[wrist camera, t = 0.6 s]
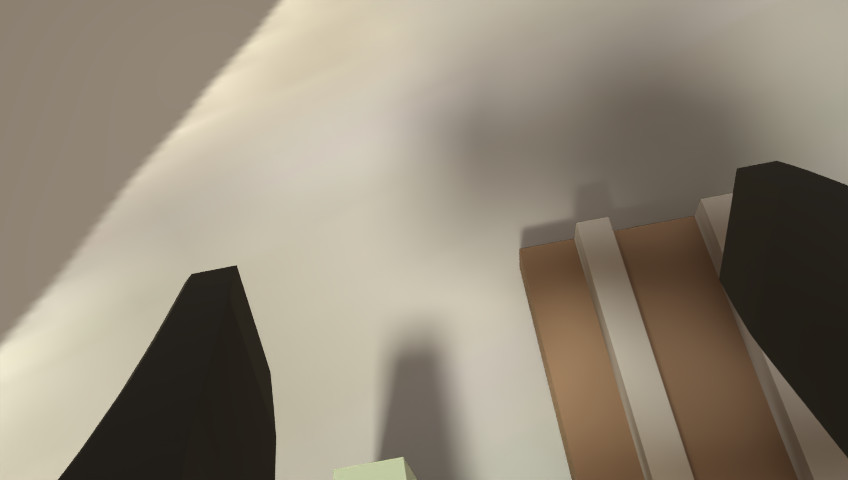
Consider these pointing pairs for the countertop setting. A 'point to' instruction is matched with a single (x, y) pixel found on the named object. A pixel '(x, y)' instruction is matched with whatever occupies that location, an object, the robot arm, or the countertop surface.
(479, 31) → the countertop surface
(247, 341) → the robot arm
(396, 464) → the pale green rectangular block
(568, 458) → the track board
